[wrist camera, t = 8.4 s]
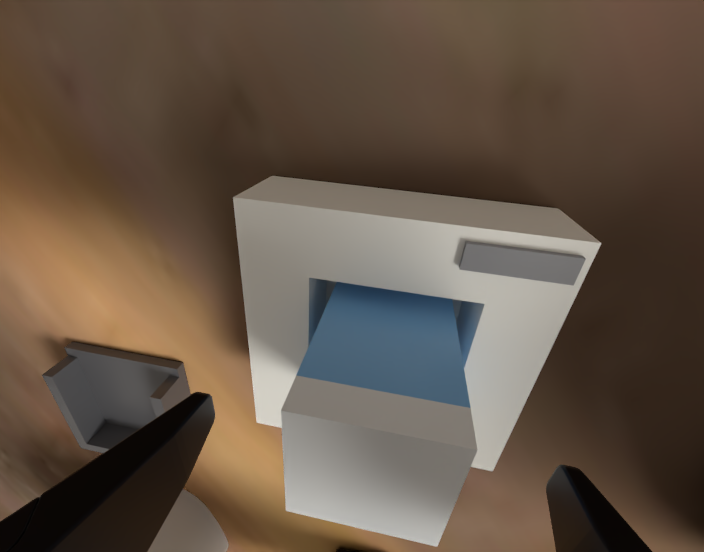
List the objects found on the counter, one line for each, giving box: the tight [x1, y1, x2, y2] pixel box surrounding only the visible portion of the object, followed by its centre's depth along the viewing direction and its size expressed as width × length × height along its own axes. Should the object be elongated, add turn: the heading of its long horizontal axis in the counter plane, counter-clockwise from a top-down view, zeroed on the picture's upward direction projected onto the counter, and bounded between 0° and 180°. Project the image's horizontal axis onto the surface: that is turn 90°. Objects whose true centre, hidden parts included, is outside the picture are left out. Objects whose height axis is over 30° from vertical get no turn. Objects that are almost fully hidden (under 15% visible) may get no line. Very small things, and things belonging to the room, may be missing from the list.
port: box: [233, 176, 601, 471], centre depth 13 cm, size 10×10×3 cm
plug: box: [281, 282, 478, 547], centre depth 11 cm, size 4×4×7 cm
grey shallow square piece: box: [42, 342, 191, 453], centre depth 19 cm, size 7×7×2 cm
